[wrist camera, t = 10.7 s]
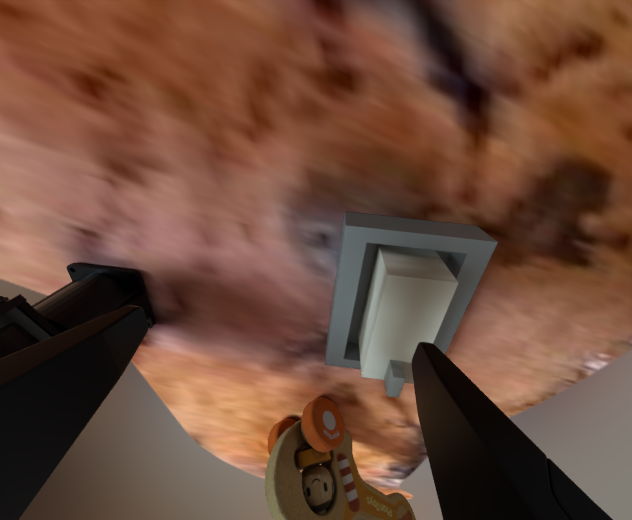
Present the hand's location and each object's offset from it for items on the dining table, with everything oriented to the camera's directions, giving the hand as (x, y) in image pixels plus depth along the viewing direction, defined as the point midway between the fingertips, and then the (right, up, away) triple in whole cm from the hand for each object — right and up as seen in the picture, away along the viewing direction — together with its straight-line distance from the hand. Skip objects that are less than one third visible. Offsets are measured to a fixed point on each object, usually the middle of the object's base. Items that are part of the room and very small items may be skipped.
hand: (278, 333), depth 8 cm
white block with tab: (+7, 0, +12) cm, 14 cm away
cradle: (+7, 0, +13) cm, 15 cm away
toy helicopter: (+5, -19, +24) cm, 31 cm away
